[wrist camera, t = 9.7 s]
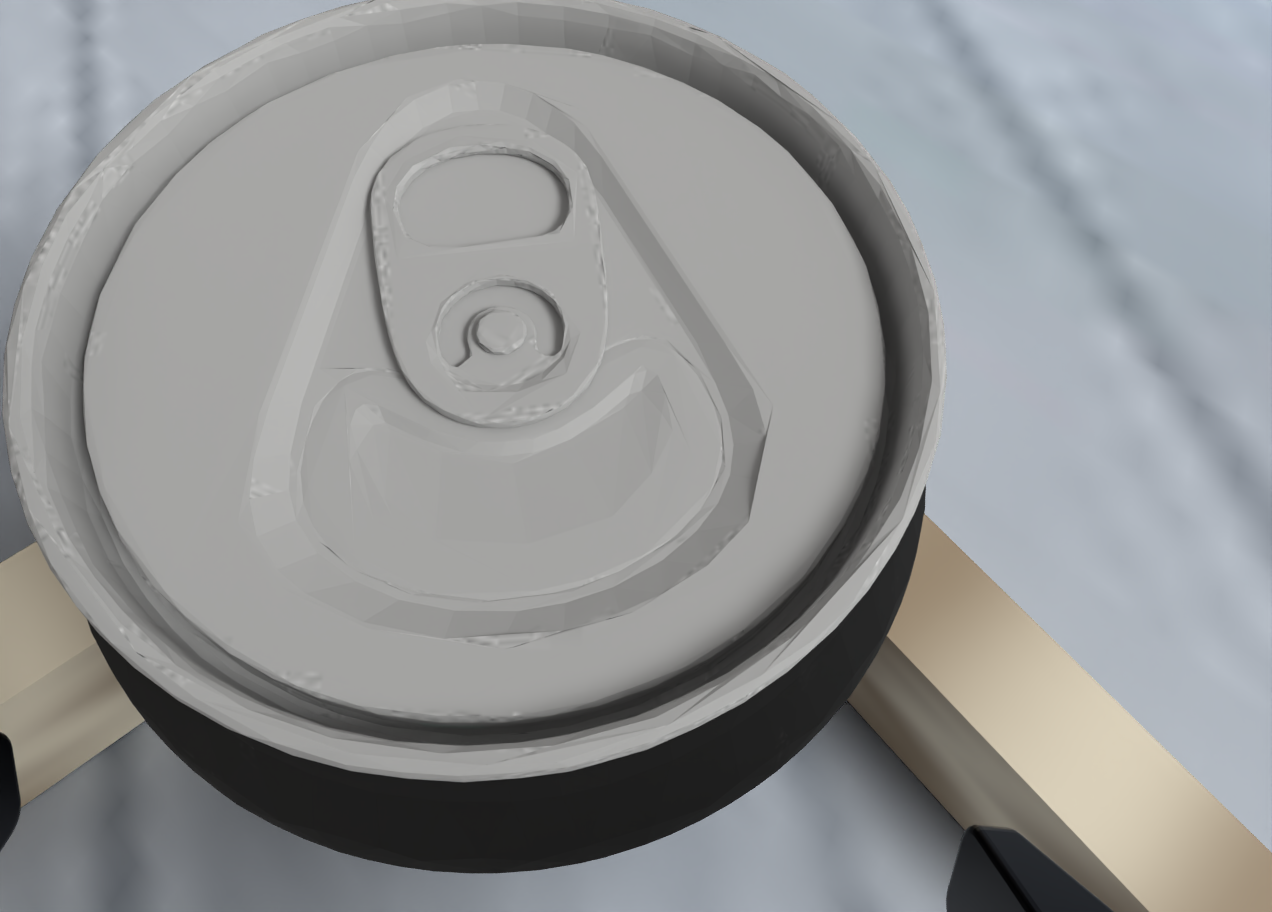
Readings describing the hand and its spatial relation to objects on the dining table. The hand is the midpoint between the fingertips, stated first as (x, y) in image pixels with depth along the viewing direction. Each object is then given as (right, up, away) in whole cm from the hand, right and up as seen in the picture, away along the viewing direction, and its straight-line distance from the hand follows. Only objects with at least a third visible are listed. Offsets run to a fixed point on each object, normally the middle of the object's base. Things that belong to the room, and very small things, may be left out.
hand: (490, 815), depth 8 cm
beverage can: (0, -1, +8) cm, 8 cm away
